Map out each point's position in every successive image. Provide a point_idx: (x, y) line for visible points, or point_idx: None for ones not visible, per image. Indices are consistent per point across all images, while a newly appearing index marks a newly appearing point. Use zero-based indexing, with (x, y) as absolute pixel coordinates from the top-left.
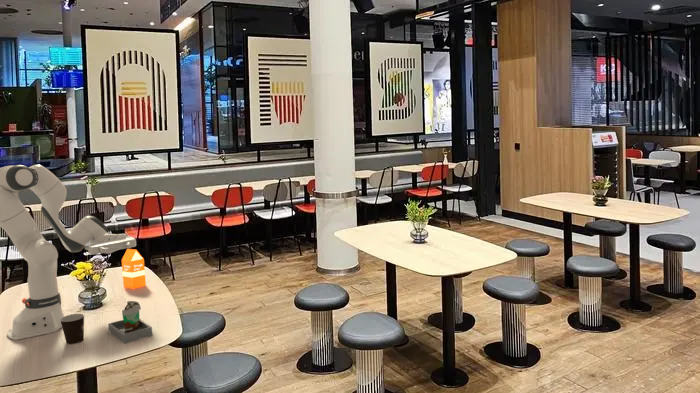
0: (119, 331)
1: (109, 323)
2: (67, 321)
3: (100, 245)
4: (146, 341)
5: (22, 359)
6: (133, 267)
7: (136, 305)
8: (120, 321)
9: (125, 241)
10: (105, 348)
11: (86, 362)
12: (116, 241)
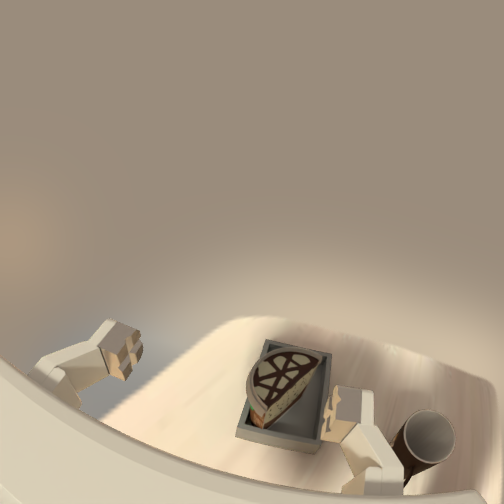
0: (327, 376)
1: (318, 444)
2: (443, 416)
3: (390, 499)
4: (290, 340)
5: (482, 444)
6: None
7: (262, 370)
8: (287, 435)
9: (46, 389)
10: (361, 377)
11: (402, 354)
12: (94, 486)
